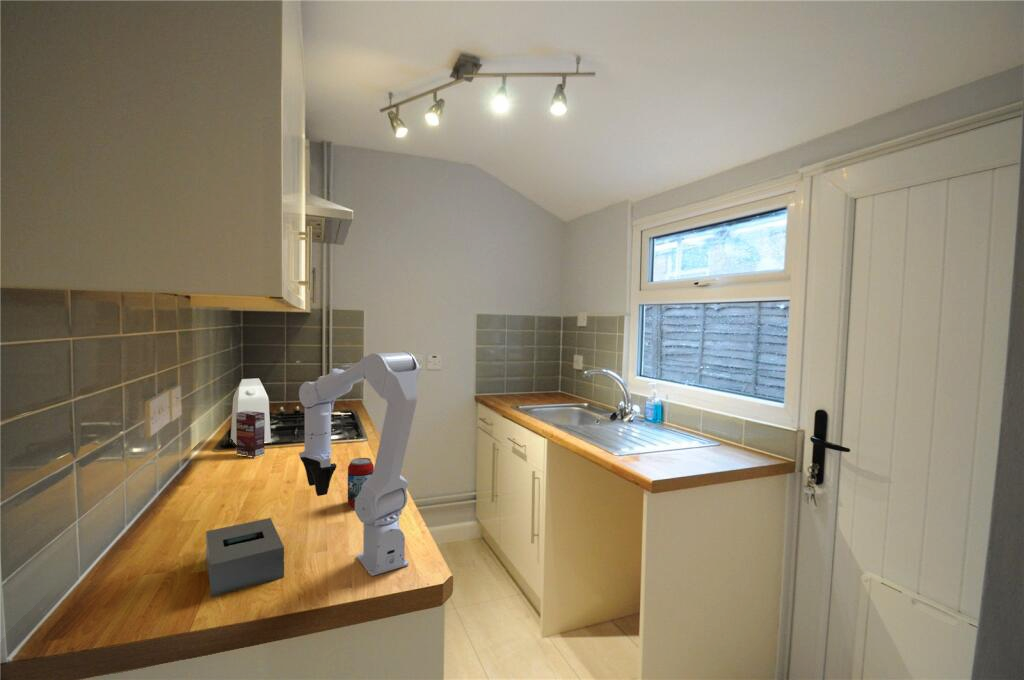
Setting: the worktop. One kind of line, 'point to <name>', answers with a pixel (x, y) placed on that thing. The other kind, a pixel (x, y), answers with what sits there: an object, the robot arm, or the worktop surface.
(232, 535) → the coin box
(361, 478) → the beverage can
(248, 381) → the milk
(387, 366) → the robot arm
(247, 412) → the supplement box
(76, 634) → the worktop surface
